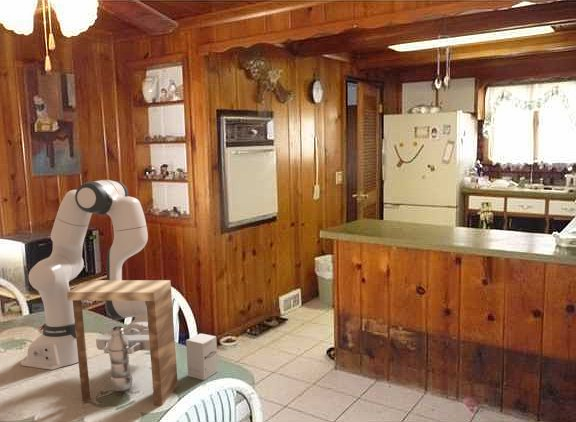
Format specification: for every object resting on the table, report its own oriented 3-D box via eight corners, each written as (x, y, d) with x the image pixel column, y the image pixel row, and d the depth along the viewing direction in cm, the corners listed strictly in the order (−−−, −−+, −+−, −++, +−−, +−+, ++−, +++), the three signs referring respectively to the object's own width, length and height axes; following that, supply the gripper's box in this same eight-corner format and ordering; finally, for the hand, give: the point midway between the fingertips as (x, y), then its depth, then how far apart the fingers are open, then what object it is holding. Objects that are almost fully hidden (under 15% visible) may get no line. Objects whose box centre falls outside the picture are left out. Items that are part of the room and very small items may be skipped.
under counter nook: (77, 401, 155) (66, 292, 151) (99, 382, 168) (89, 280, 163) (162, 405, 151) (153, 292, 147) (177, 384, 164) (170, 280, 160)
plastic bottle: (125, 395, 157) (120, 333, 153) (106, 392, 159) (101, 331, 155) (137, 384, 163) (132, 325, 160) (118, 382, 165) (113, 323, 161)
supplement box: (204, 380, 166) (202, 343, 164) (187, 376, 170) (185, 339, 168) (218, 371, 172) (216, 336, 171) (202, 367, 176) (200, 332, 174)
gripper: (107, 325, 172) (85, 341, 159) (164, 325, 170) (147, 341, 156) (108, 342, 173) (87, 360, 160) (166, 343, 170) (149, 361, 157)
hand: (117, 351), depth 158 cm, fingers closed on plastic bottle, 6 cm apart
